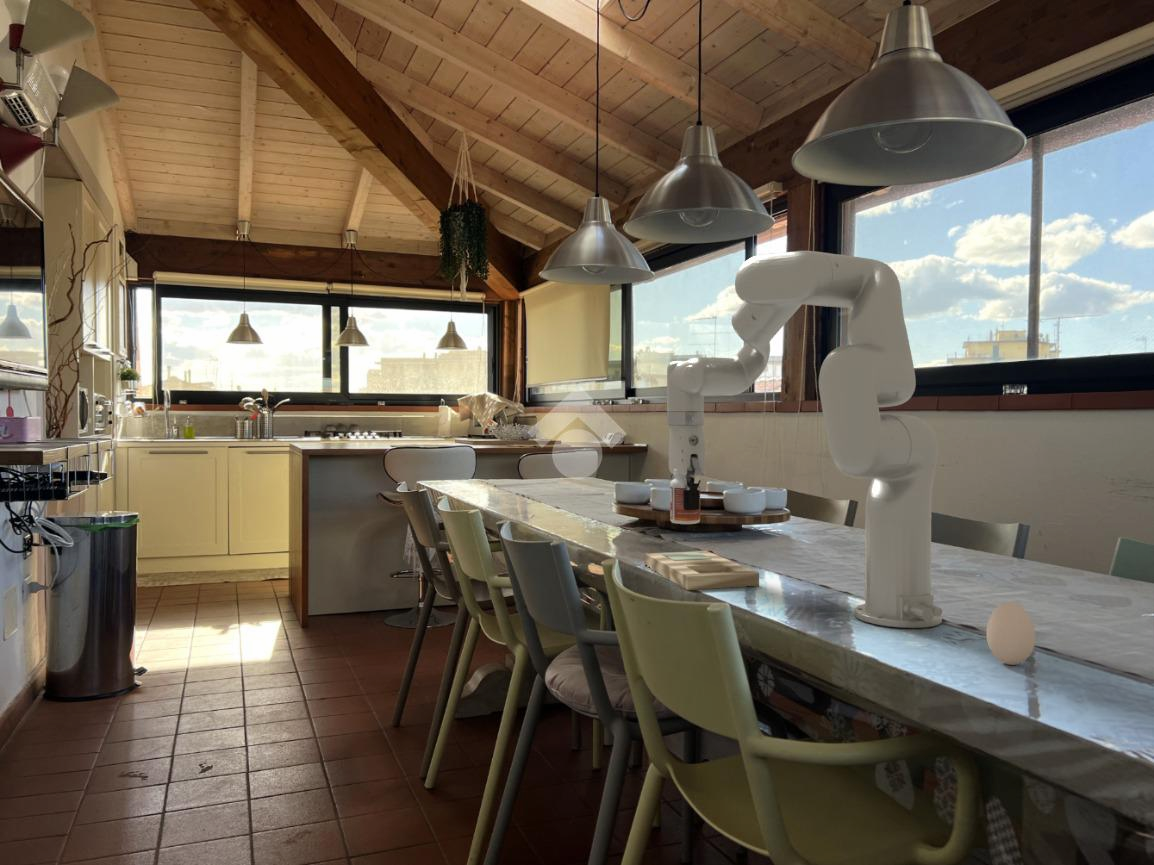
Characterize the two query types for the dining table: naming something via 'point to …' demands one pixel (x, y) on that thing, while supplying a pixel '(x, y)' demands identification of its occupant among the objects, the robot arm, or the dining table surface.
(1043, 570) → the dining table surface
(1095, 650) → the dining table surface
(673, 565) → the pocket board
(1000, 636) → the egg
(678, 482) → the pill bottle
